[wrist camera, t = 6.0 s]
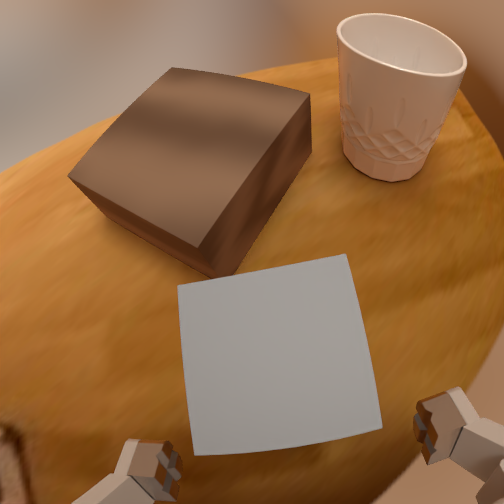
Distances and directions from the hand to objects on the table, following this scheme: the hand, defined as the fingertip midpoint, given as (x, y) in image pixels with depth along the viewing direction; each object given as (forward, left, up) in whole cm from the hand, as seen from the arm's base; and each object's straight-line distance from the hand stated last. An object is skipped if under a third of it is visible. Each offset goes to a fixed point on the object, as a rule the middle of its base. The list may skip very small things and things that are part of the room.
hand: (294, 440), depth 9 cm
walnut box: (+13, +11, -8) cm, 19 cm away
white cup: (+20, -1, -8) cm, 21 cm away
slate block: (+2, +1, -8) cm, 8 cm away
